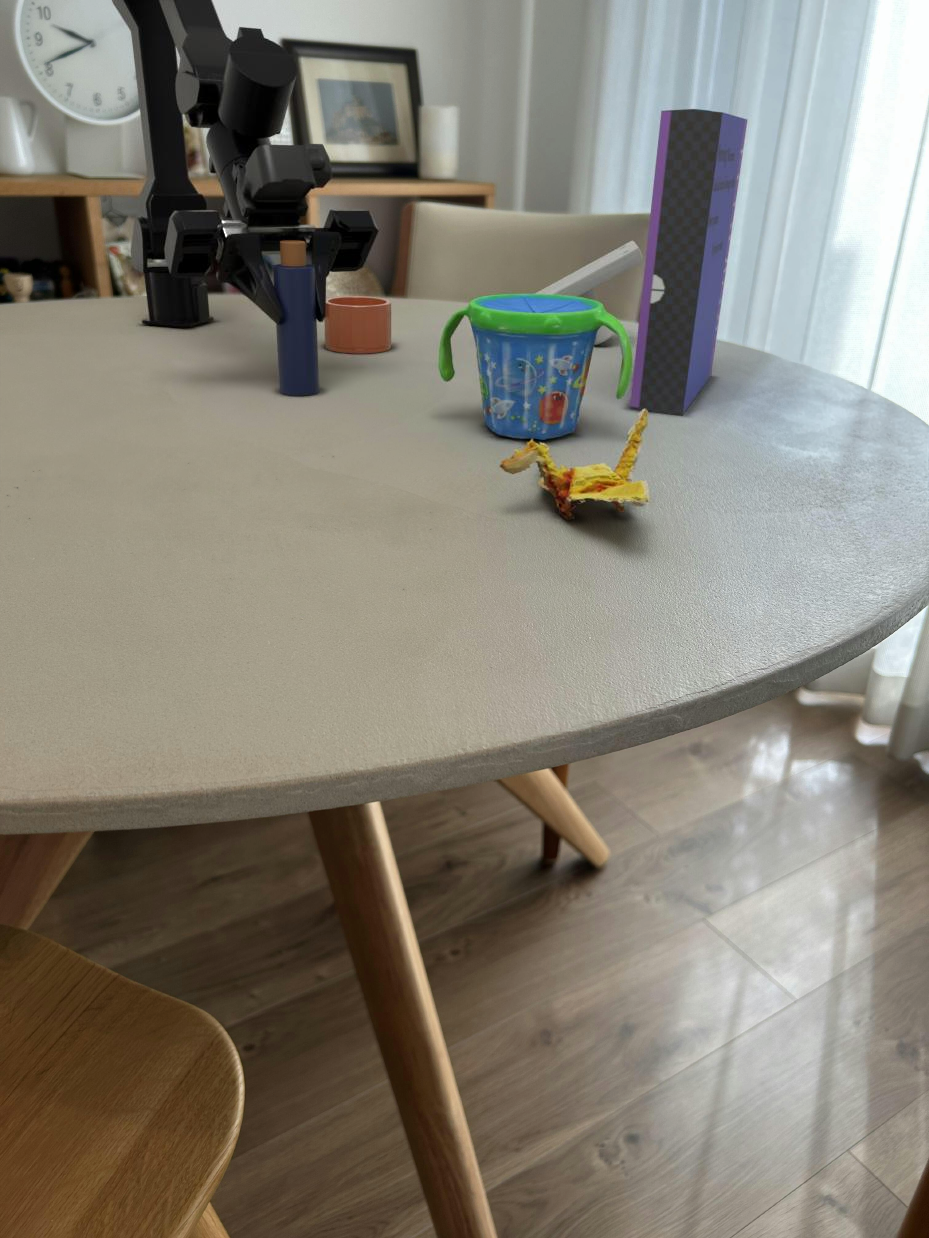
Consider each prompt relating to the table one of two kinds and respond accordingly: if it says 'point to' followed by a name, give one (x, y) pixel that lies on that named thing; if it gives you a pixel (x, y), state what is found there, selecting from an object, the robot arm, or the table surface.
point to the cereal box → (686, 256)
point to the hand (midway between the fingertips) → (301, 320)
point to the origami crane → (587, 474)
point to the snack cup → (534, 359)
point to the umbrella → (296, 321)
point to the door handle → (597, 278)
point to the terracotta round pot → (358, 324)
